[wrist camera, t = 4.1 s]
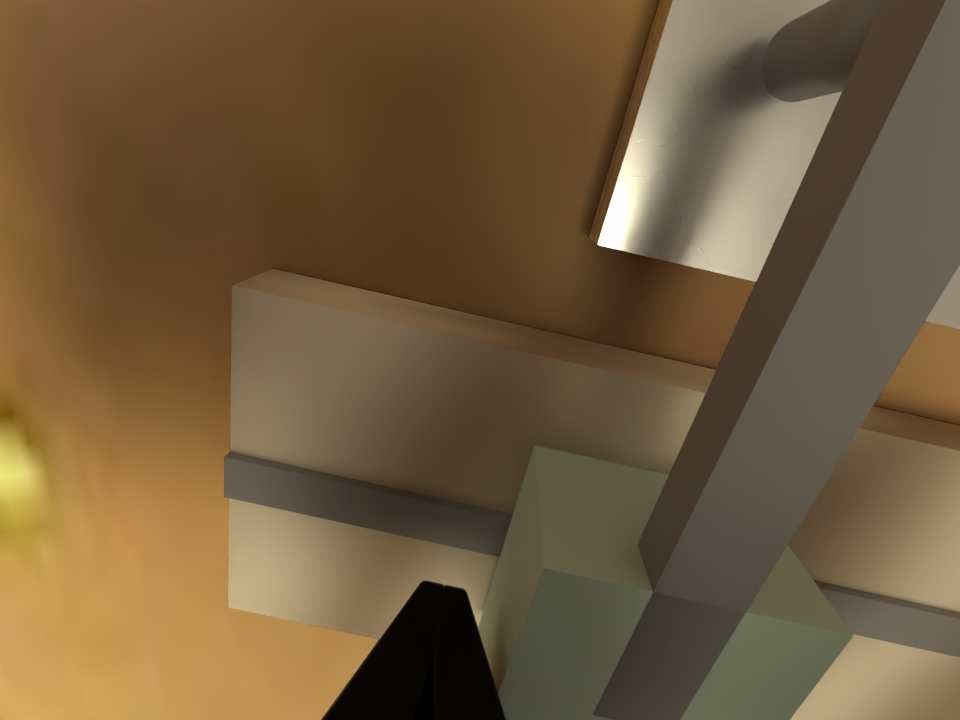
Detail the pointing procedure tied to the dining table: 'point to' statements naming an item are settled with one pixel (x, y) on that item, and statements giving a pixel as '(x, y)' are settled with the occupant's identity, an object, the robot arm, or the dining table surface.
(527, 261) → the dining table surface
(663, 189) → the bolt hole plate
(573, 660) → the slider leg
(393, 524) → the board
